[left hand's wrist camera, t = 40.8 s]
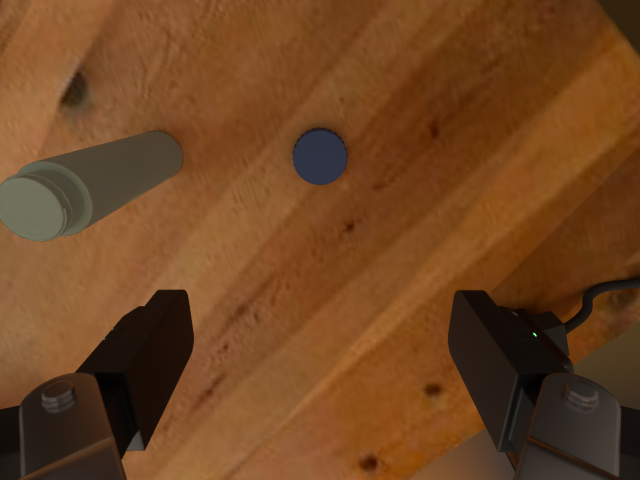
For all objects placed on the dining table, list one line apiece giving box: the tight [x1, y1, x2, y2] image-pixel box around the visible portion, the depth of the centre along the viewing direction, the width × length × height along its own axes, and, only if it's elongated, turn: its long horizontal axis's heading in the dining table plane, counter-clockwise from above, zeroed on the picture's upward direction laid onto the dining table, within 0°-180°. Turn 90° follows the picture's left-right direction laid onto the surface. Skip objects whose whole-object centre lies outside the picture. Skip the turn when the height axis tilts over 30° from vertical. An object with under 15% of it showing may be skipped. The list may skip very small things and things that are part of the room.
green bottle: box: [0, 131, 183, 242], centre depth 30 cm, size 5×5×19 cm
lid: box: [293, 127, 347, 185], centre depth 38 cm, size 5×5×2 cm
